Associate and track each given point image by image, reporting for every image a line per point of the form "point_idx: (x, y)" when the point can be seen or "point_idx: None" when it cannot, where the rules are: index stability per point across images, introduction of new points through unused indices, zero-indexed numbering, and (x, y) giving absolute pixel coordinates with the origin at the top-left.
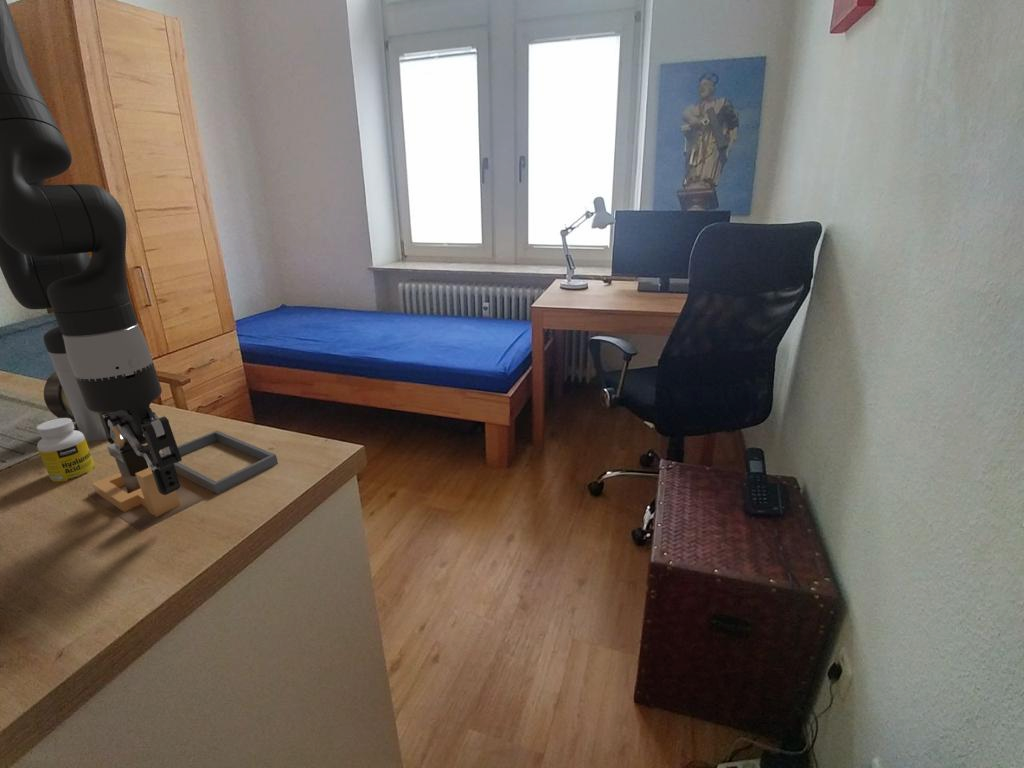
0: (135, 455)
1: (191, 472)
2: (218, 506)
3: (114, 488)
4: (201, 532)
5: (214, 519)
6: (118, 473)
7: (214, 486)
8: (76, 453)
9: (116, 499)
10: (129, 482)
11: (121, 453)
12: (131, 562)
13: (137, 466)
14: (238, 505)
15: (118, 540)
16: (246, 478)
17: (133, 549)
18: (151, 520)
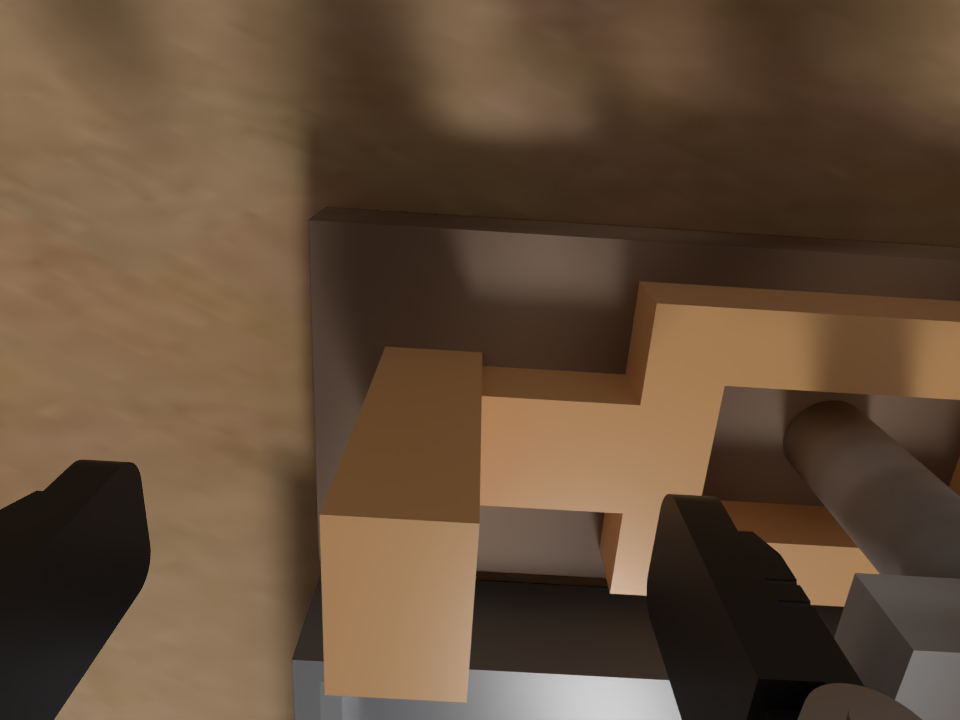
0: (703, 696)
1: (572, 678)
2: (298, 552)
3: (900, 375)
4: (133, 394)
5: (195, 483)
6: None
7: (302, 649)
8: None
9: (730, 309)
10: (842, 457)
11: (786, 672)
12: (172, 60)
13: (677, 592)
14: (215, 596)
15: (476, 134)
16: None
17: (298, 133)
18: (372, 312)
